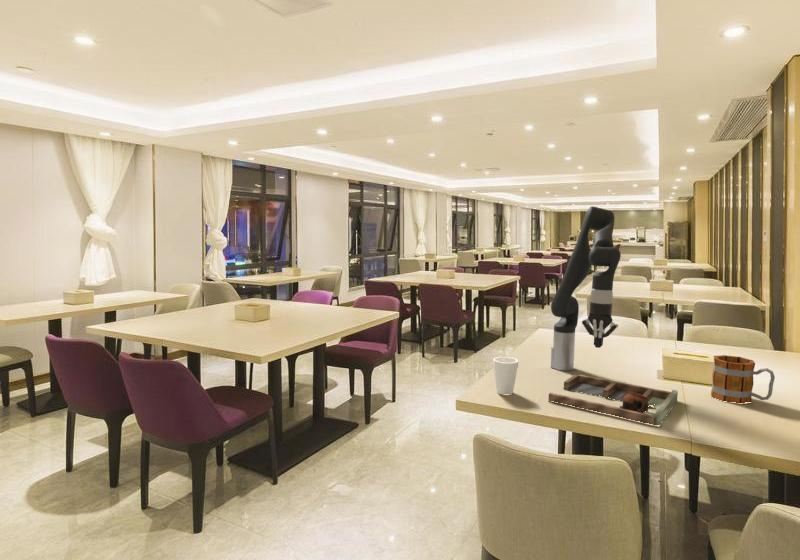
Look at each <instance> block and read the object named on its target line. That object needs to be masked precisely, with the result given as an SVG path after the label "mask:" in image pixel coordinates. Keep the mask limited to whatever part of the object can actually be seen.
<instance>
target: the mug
mask: <svg viewBox="0 0 800 560" xmlns="http://www.w3.org/2000/svg"><path fill="white" fill-rule="evenodd" d="M713 362H714V363H713V370H712V377H711V378H712V384H711V385H712V387H711V392H710V395H711V398H712V397H713V398H712V399H715V398H716V399H715V400H717V399H719V400H718V401H720V400H722V401H721V402H723V401H727V402H736V403H745V402H753V401H752V397H753V398H756V399H758V400H761V401H766V400H769V399H770V398H771V397H772V395H773V391H774V390H773V389H774V383H775V378H776V377H775V373H774V371H773V370H771V369H769V368H760V369H758V370H756V371H755V365H756V362H755V361H754V360H753V359H749V358H745V357H741V356H735V355H726V354H721V355H713ZM763 372H767V373H768V374H770V379H769V384H768V391H767V394H766V396H761V395H759V394H757V393H754V392H753V387H754V375H756V376H758V375H760V374H762V373H763ZM727 402H726V403H727Z"/></svg>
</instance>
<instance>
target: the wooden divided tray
mask: <svg viewBox="0 0 800 560" xmlns="http://www.w3.org/2000/svg"><path fill="white" fill-rule="evenodd" d="M563 389H564V390H566V389H568V390H567V391H570V390H573V391H572V392H575V391H578V392H577V393H580V392H583V393H582V394H584V393H587V394H586V395H589V394H592V395H591V396H594V395H597V396H596V397H598V396H599V395H600V396H602V397H601V398H603V397H607V398H606V399H608V397H609V398H611V399H610V400H612V399H615V400H614V401H617V400H620V401H619V402H622V401H624V400H623V398H622V397H623V396H624V395H626V392H634V393H637V394H640V395H643V396H645V397H646V398H648V399H649V401H648V404H649V405H653V406H654V408H653V409H655V408H658V409H656V411H655V413H653V414H649V413H646V412H644V413H640V412H636V411H631V410H627V409H622V408H619V407H617V406H614V405H613V406H612V405H608V404H604V403H600V402H594V401H589V400H586V399H581V398H577V397H572V396H567V395H563V394H560V393H559V394H558V393H554V392H549V393H548V400H549V401H554V402H558V403H563V404H567V405H572V406H575V407H579V408H584V409H588V410H593V411H597V412H601V413H606V414H611V415H615V416H619V417H623V418H626V419H631V420H635V421H640V422H643V423H649V424H653V425H660V424H661V422H662V421H663V419H664V418H665V417H666V418H667V416H668V415H669V414H670V412H671V411H670V410H672V409H673V408H674V406H675V405H674V404H677V402H678V390H677V389H672V390H671V391H667V390H663V389H662V390H661V389H656V388H652V387H647V386H641V385H636V384H631V383H627V382H620V381H615V380H611V379H605V378H600V377H599V378H598V377H594V376H590V375H589V376H588V375H584V374H574V375H572V376H571V377H569V378H568V379H566V380H565V381H564V382H563ZM654 404H655V405H654ZM649 405H648V406H649ZM650 407H651V406H649V407H648V408H650ZM672 407H673V408H672ZM671 408H672V409H671ZM669 411H670V412H669ZM668 413H669V414H668ZM667 414H668V415H667ZM666 415H667V416H666ZM666 418H665V419H666ZM665 419H664V420H665ZM663 422H664V421H663ZM663 422H662V423H663ZM661 425H662V424H661ZM661 425H660V426H661Z"/></svg>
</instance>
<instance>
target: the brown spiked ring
mask: <svg viewBox="0 0 800 560" xmlns="http://www.w3.org/2000/svg"><path fill="white" fill-rule="evenodd" d="M622 398H623V400H624V401H623V402H622V405H619V407H618V408H622V409H627V410H631V411H636V412H640V413H647V412H649V407H648V405H649V404H648V401H649V399H648V398H646V397H645V396H643V395H640V394H637V393H634V392H626V395H624V396H623V397H622ZM645 411H646V412H645Z"/></svg>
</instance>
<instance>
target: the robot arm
mask: <svg viewBox="0 0 800 560" xmlns="http://www.w3.org/2000/svg"><path fill="white" fill-rule="evenodd" d="M614 225H615V214H614V212H613V211H611V210H608V209H605V208H601V207H597V206H589V208H588V209H587V211H586V213H585V215H584V218H583V222H582V225H581V228H580V231H579V233H578V238H577V241H576V243H575V246H574V248H573V250H572V253H571V256H570V258H569V260H568V263H567V267H566V269H565V272H564V275H563V277H562V278H561V281H560V284H559V287H558V288H557V291H556V292H555V294H554V296H553V298H552V301H551V304H550V310H551V313H552V315H553V316H555V317H558V318H559V320H558V321H557V322H556V323H554V325H553V344H552V345H553V346H552V347H551V353H550V368H553V369H554V370H558V371H565V372H566V371H573V370H574V366H575V363H574V361H575V343H576V342H575V341H576V328H577V326H578V319H579V311H580V308H579V307H580V305H579V302H578V300H577V298H576V297H574V296H572V295H573V293H574V292H575V290H576V289H577V288H578V287H579V286H580V285H581V284H582V282H583V281H584V280H585V279H586V278H587V276H588V275H589V273H590V270H591V268H592V266H595V267H608V268H607V269H606V270H604V271H600V272H595V273H594V274H592V283H591V292H590V298H589V301H590V302H589V314H588V316H587V318H585V319H584V320H582V321H581V324H582V325H583V327H584V329H585V330H586V332H587V333H588V334H589V336H592V337H593V345H594V347H595V348H598V349H600V348H601V347H602V346H603V344H604V338H607V337H609V336H610V335H611V334H612V333H613V332H614V331H615V330H616V329H618V327H619V325H618V324H616V323H615V322H614V321H613V318H612V312H613V311H612V310H613V298H614V293H613V288H614V279H615V278H614V277H615V273H616V271H617V267H618V265H619V263H620V260H621V256H622V254H621V250H620V249H619V248H617V247H614V241H613V235H614V233H613V232H614ZM590 230H593V231H596V232H595V233H594V235H593V237H592V247H591V246H590V241H589V235H590V234H589V232H590ZM608 327H609V329H608V330H607V331H606V329H607V328H608Z"/></svg>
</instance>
